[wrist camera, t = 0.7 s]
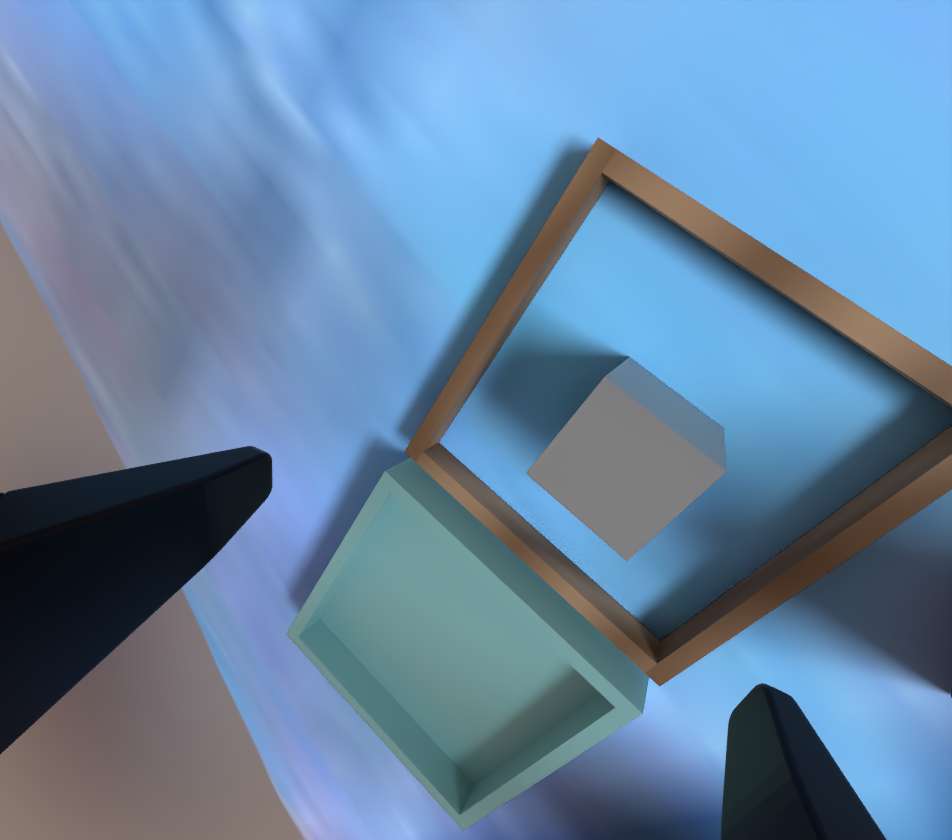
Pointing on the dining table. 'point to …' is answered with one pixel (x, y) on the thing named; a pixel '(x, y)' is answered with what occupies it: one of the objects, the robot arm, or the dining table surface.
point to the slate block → (631, 458)
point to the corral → (795, 567)
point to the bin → (460, 650)
